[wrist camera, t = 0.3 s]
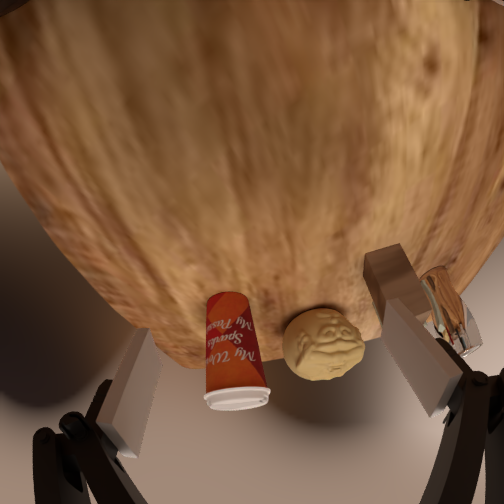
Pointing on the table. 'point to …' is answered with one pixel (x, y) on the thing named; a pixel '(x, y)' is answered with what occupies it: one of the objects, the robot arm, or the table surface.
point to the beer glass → (450, 313)
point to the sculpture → (322, 344)
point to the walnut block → (395, 282)
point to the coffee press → (500, 0)
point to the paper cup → (233, 355)
